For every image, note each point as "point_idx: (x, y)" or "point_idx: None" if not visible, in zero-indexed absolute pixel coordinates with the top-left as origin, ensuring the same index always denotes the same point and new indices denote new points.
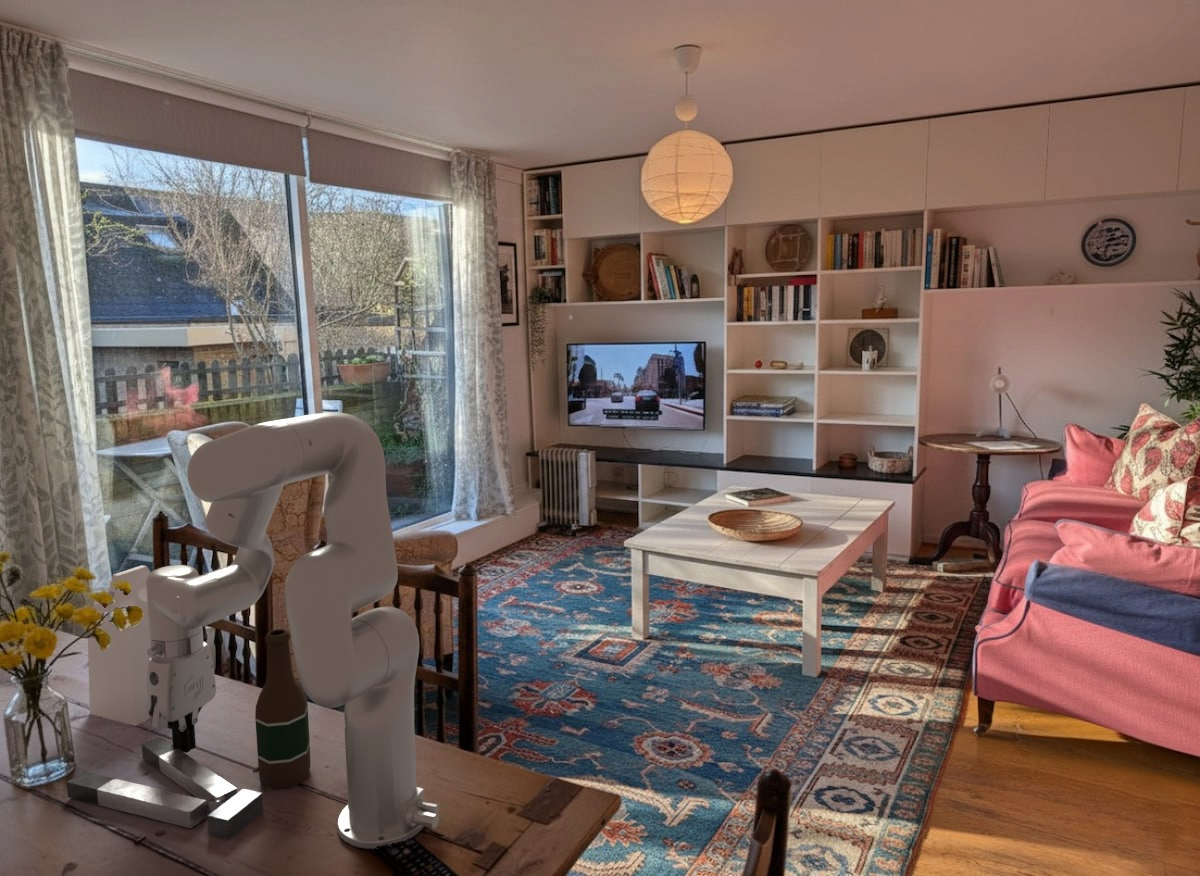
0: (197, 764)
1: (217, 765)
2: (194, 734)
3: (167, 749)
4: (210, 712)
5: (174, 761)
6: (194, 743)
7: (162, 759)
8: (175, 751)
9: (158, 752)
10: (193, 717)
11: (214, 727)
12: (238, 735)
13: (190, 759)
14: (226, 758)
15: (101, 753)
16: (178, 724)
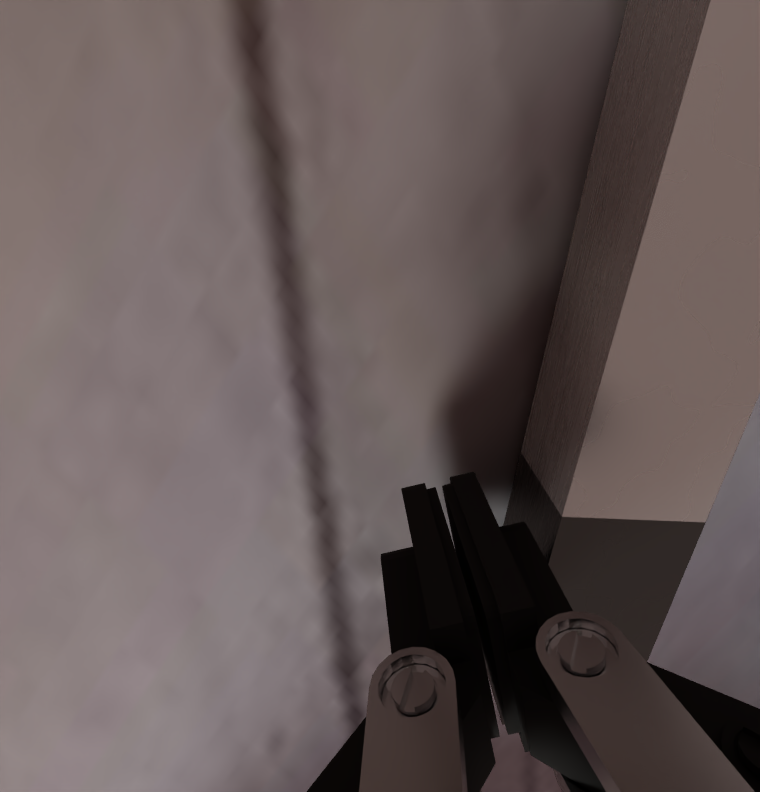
0: (714, 94)
1: (388, 207)
2: (421, 559)
3: (607, 556)
4: (67, 786)
5: (735, 351)
6: (417, 504)
7: (723, 465)
8: (606, 488)
9: (663, 566)
10: (436, 732)
11: (128, 652)
12: (53, 465)
13: (660, 259)
14: (285, 243)
15: None
16: (675, 704)
